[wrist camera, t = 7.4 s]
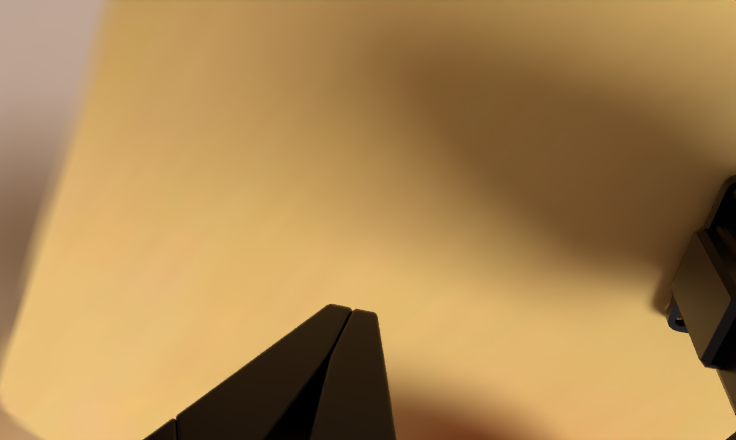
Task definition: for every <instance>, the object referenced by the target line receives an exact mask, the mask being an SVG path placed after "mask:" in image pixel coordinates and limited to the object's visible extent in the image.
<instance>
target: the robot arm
mask: <svg viewBox="0 0 736 440" xmlns="http://www.w3.org/2000/svg"><path fill="white" fill-rule="evenodd" d="M735 190H736V175H735V176H732V177H730V178H729V179H727V180H726V181H725V182H724V184H723V185H722V187H721V189H720V192H719V194H718V196H717V198H716V201H715V203H714V205H713V207H712V210H711V212H710V214H709V216H708V219H707V221H706V223H705V225H704V228H701V229H699V230H698V231H696V232H695V233H694V234H693V237H692V239H691V241H690V244H689V246H688V248H687V250H686V253H685V255H684V257H683V260H682V262H681V264H680V267H679V269H678V271H677V273H676V276H675V278H674V280H673V283H672V285H671V289H672V292H673V297H672V300H671V302H670V304H669V306H668V309H667V311H666V315H665V317H666V319H667V322H668V325H669V327H670V328H672V329H673V330H676V331H679V332H684V333H689V335H690V337H691V340H692V343H693V345H694V348H695V350H696V353H697V355H698V358H699V359H700V361H701V362H702V363H703V365H704V366H705V367H707V368H712V369H716V370H717V373H718V375H719V377H720V380H721V382H722V385H723V387H724V389H725V392H726V394H727V396H728V399H729V401H730V403H731V406H732V408H733V411H734V413H735V415H736V195H735V194H734V191H735ZM680 316H682V317H683V319H682V320H677V319H676V318H677V317H680ZM143 440H397V435H396V429H395V422H394V416H393V410H392V404H391V397H390V391H389V385H388V379H387V372H386V366H385V360H384V354H383V348H382V341H381V335H380V329H379V323H378V317H377V314H376V313H374V312H370V311H365V310H360V309H355V310H353V311H352V309H351V308H349V307H345V306H340V305H335V304H329V305H327V306H325V307H324V308H322V309H321V310H320V311H318V312H317V313H316V314H314V315H313V316H312V317H310V318H309V319H307V320H306V321H305V322H303V323H302V324H301V325H299V326H298V327H297V328H295V329H294V330H292V331H291V332H290V333H288V334H287V335H286V336H284V337H283V338H282V339H280V340H279V341H277V342H276V343H275V344H273V345H272V346H271V347H269V348H268V349H267V350H265V351H264V352H262V353H261V354H260V355H258V356H257V357H256V358H254V359H253V360H252V361H250V362H249V363H247V364H246V365H245V366H243V367H242V368H241V369H239V370H238V371H237V372H235V373H234V374H232V375H231V376H230V377H228V378H227V379H226V380H224V381H223V382H222V383H220V384H219V385H217V386H216V387H215V388H213V389H212V390H211V391H209V392H208V393H207V394H205V395H204V396H202V397H201V398H200V399H198V400H197V401H196V402H194V403H193V404H192V405H190V406H189V407H187V408H186V409H185V410H183V411H182V412H181V413H179V414H178V415H177V416H176V420H175V419H171V420H169V421H168V422H167V423H165V424H164V425H163V426H161V427H160V428H159V429H157V430H156V431H154V432H153V433H152V434H150V435H149V436H147V437H146V438H144V439H143ZM726 440H736V432H735V433H734V434H732V435H731V436H730V437H729V438H727V439H726Z"/></svg>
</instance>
